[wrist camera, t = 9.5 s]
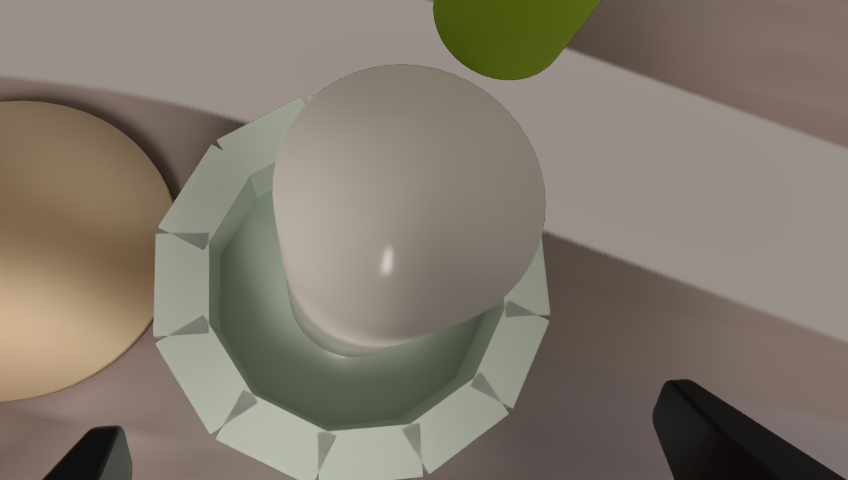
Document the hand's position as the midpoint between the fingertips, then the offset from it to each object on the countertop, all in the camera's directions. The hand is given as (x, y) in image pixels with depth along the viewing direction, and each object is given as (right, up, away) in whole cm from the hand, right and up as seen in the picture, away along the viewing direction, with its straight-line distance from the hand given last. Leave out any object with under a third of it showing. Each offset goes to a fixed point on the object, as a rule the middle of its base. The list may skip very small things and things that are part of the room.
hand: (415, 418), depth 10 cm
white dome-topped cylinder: (-2, +1, +11) cm, 11 cm away
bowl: (-2, +1, +12) cm, 12 cm away
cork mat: (-13, +3, +10) cm, 17 cm away
